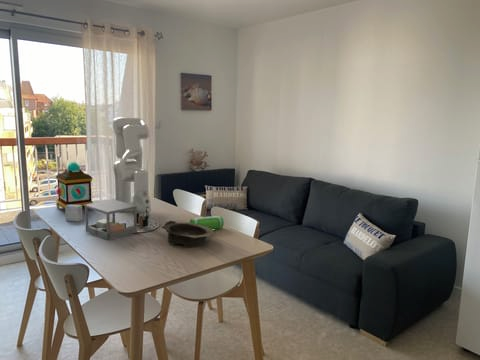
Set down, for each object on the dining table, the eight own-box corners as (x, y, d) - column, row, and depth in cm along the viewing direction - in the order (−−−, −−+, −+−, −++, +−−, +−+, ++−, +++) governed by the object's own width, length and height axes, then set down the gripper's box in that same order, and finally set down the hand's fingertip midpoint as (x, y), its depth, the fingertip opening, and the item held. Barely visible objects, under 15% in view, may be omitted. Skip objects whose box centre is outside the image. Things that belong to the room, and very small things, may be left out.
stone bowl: (151, 244, 175) (152, 225, 174) (182, 234, 197) (183, 217, 196) (193, 254, 164) (194, 234, 163) (222, 242, 186) (223, 224, 185)
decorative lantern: (85, 203, 245) (83, 159, 239) (97, 210, 231) (95, 163, 225) (53, 207, 231) (51, 161, 226) (64, 215, 217) (61, 165, 212)
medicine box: (82, 219, 210) (82, 205, 208) (78, 221, 205) (78, 207, 204) (69, 218, 210) (69, 204, 209) (65, 220, 206) (64, 206, 204)
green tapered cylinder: (218, 226, 207) (219, 213, 206) (223, 230, 201) (224, 217, 200) (189, 229, 200) (189, 216, 199) (193, 233, 194) (193, 220, 192)
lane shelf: (114, 224, 204) (113, 199, 201) (136, 232, 192) (136, 206, 189) (85, 231, 190) (84, 204, 188) (108, 240, 179) (107, 212, 176)
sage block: (106, 227, 198) (106, 218, 197) (113, 229, 194) (113, 220, 193) (96, 230, 193) (96, 221, 192) (103, 232, 190) (103, 223, 189)
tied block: (140, 225, 203) (140, 215, 202) (147, 227, 200) (147, 217, 199) (107, 234, 187) (107, 223, 186) (114, 236, 184) (114, 225, 183)
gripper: (157, 194, 195) (157, 226, 198) (136, 189, 205) (137, 220, 208) (145, 196, 189) (146, 230, 192) (125, 191, 199) (126, 223, 202)
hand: (141, 224), depth 200 cm, fingers open, 5 cm apart
